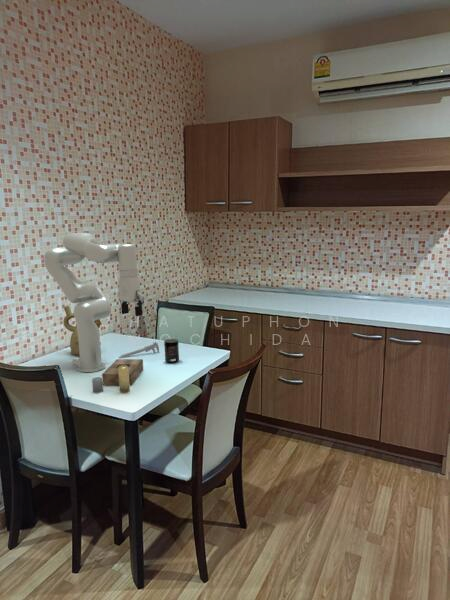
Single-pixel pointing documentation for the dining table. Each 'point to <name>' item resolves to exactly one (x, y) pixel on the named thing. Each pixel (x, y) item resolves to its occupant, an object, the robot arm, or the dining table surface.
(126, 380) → the long pin
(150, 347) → the caliper
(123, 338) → the dining table surface
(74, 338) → the ceramic vessel
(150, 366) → the dining table surface
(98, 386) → the short pin
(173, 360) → the supplement container
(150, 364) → the dining table surface
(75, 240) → the robot arm
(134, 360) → the hole block
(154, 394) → the dining table surface
